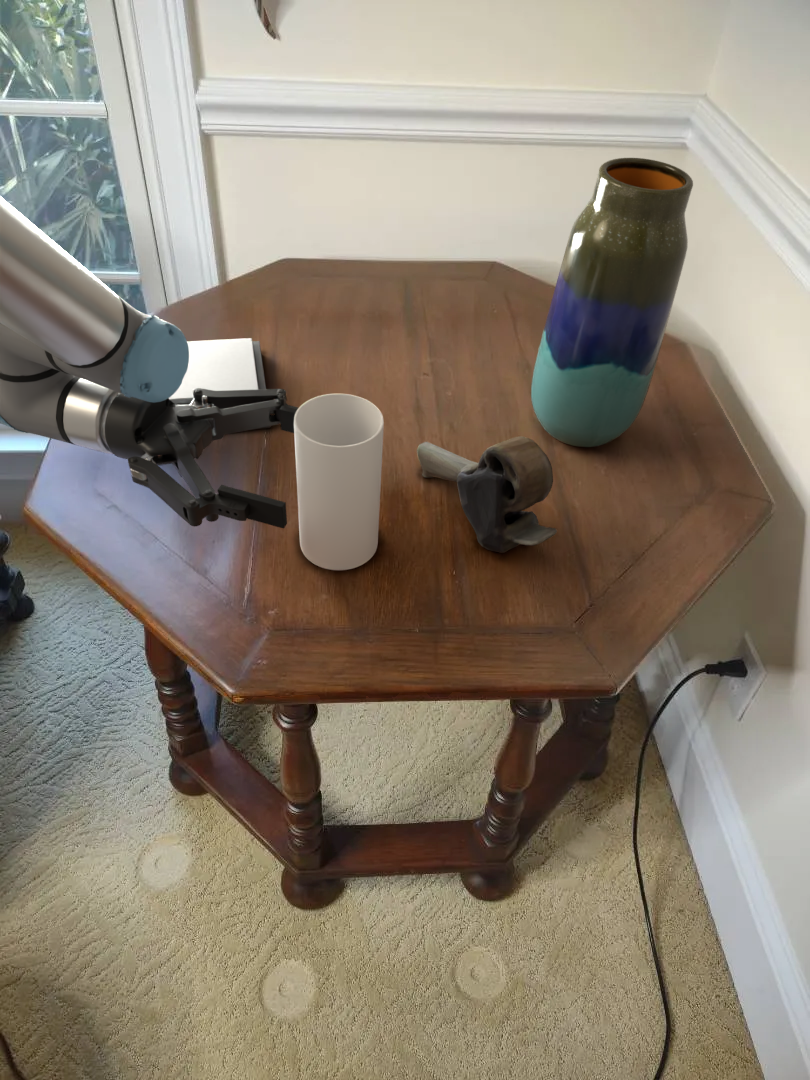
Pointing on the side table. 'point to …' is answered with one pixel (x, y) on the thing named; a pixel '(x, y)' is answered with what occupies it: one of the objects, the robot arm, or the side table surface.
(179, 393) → the scale
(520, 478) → the grey two-tone handled device
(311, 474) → the cup
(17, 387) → the robot arm
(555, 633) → the side table surface
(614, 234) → the vase
